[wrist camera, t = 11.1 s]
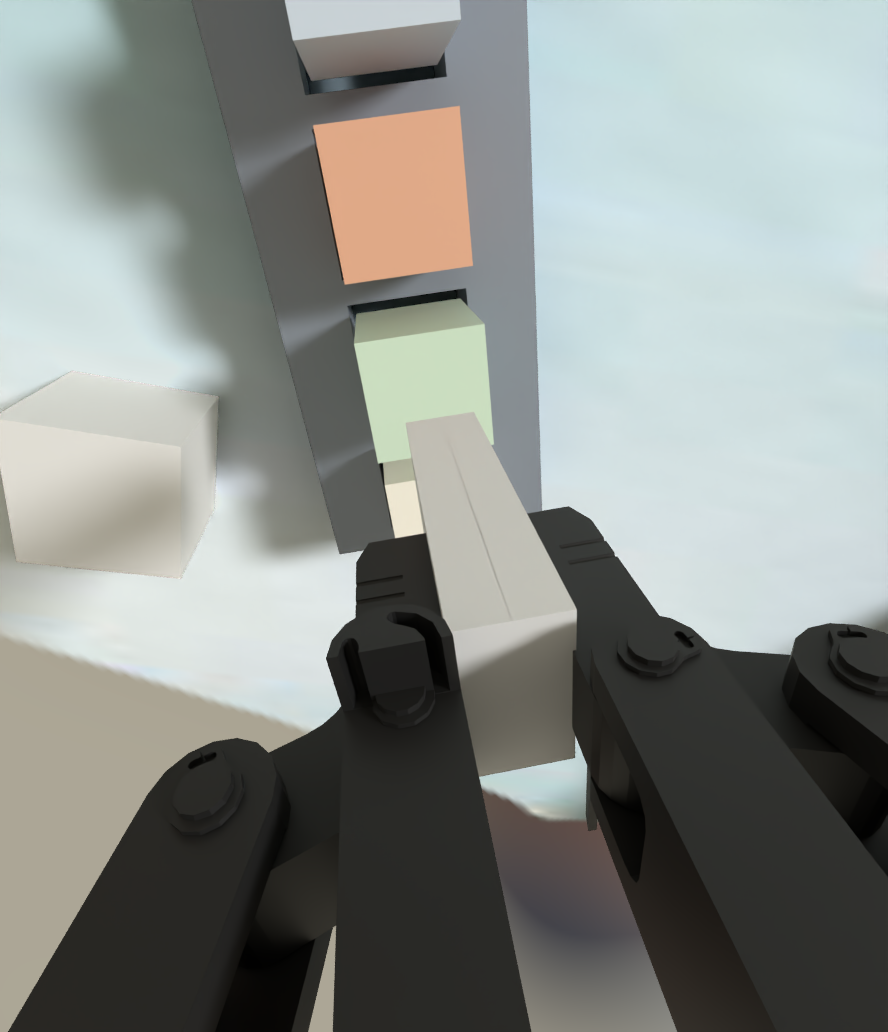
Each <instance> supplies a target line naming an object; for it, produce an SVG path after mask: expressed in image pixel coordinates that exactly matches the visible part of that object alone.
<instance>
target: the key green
mask: <svg viewBox="0 0 888 1032" xmlns="http://www.w3.org/2000/svg"><path fill="white" fill-rule="evenodd" d="M354 347H355V351H356V356H357V361H358V366H359V371H360V376H361V381H362V386H363V391H364V396H365V401H366V406H367V411H368V416H369V421H370V426H371V431H372V436H373V441H374V446H375V451H376V456H377V461H378V463H384V462H390V461H396V460H403V459H409V458H411V453H410V447H409V441H408V435H407V429H406V423H407V422H413V421H419V420H426V419H432V418H438V417H444V416H450V415H457V414H463V413H469V412H474V413H475V415H476V417H477V419H478V421H479V423H480V424H481V426H482V428H483V430H484V432H485V434H486V436H487V438H488V440H489V442H490V444H491V445H494V439H493V426H492V413H491V400H490V387H489V374H488V361H487V348H486V335H485V324H484V323H483V322H482V321H481V320H480V319H479V318H478V317H477V315H476V314H475V313H474V312H473V311H472V310H471V309H470V308H469V307H468V306H467V305H466V304H465V303H464V302H463V301H462V300H461V299H460V298H459V299H452V300H446V301H439V302H432V303H425V304H419V305H412V306H405V307H399V308H392V309H385V310H379V311H372V312H365V313H358V314H356V325H355V337H354Z"/></svg>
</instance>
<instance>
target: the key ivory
mask: <svg viewBox="0 0 888 1032" xmlns="http://www.w3.org/2000/svg"><path fill="white" fill-rule="evenodd" d="M383 467H384V482H385V489H386V494H387V499H388V504H389V510H390V515H391V520H392V525H393V530H394V535H395V538H400V537H405V536H411V535H417V534H423V533H424V531H423V525H422V519H421V513H420V507H419V501H418V495H417V489H416V483H415V477H414V471H413V465H412V459H411V458H409V459H403V460H396V461H390V462H384V463H383Z"/></svg>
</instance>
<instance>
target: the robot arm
mask: <svg viewBox="0 0 888 1032" xmlns="http://www.w3.org/2000/svg"><path fill="white" fill-rule="evenodd" d="M406 429H407V435H408V441H409V447H410V453H411V459H412V465H413V471H414V477H415V483H416V489H417V495H418V501H419V507H420V513H421V519H422V525H423V531H424V533H423V534H417V535H411V536H405V537H400V538H394V539H388V540H382V541H376V542H371V543H368V545H367V546H366V548H365V550H364V551H363V553H362V554H361V556H360V557H359V559H358V561H357V562H356V585H357V587H356V604H357V605H356V618H355V619H353V620H352V621H350V622H349V623H347V624H346V625H345V626H344V627H343V628H342V629H341V630H340V632H339V633H338V634H337V635H336V636H335V637H334V638H333V640H332V642H331V645H330V648H329V651H328V654H327V657H326V660H327V663H328V666H329V669H330V672H331V676H332V679H333V682H334V685H335V688H336V691H337V694H338V697H339V700H340V703H341V707H340V709H339V710H338V711H337V712H336V713H335V714H334V715H333V716H332V717H331V718H330V719H329V720H327V721H326V722H325V723H324V724H323V725H321V726H320V727H318V728H316V729H315V730H313V731H311V732H310V733H308V734H306V735H304V736H302V737H300V738H298V739H296V740H294V741H292V742H290V743H288V744H286V745H284V746H282V747H279V748H278V749H275V750H274V751H272V752H269V753H268V752H267V751H266V750H265V749H264V748H263V747H261V746H260V745H259V744H258V743H257V742H252V741H248V740H243V739H239V738H235V739H228V740H222V741H216V742H212V743H210V744H208V745H205V746H203V747H201V748H199V749H197V750H195V751H192V752H190V753H188V754H187V755H186V756H185V757H183V758H182V759H181V760H180V761H178V762H177V763H176V764H174V765H173V766H172V767H171V768H169V769H168V770H167V771H166V772H165V773H164V774H163V776H162V777H161V778H160V779H159V781H158V782H157V783H156V785H155V786H154V787H153V788H152V790H151V791H150V792H149V793H148V795H147V796H146V798H145V800H144V801H143V803H142V805H141V807H140V809H139V810H138V812H137V814H136V815H135V817H134V818H133V820H132V822H131V824H130V825H129V827H128V829H127V830H126V832H125V834H124V835H123V837H122V839H121V841H120V842H119V844H118V846H117V847H116V849H115V851H114V853H113V854H112V856H111V858H110V859H109V861H108V863H107V864H106V866H105V868H104V870H103V871H102V873H101V875H100V876H99V878H98V880H97V881H96V883H95V885H94V887H93V888H92V890H91V892H90V894H89V895H88V897H87V898H86V900H85V902H84V904H83V905H82V907H81V909H80V911H79V912H78V914H77V916H76V917H75V919H74V920H73V922H72V924H71V926H70V927H69V929H68V931H67V932H66V934H65V936H64V938H63V939H62V941H61V943H60V944H59V946H58V948H57V949H56V951H55V953H54V955H53V956H52V958H51V960H50V961H49V963H48V965H47V966H46V968H45V970H44V972H43V973H42V975H41V977H40V978H39V980H38V982H37V984H36V985H35V987H34V989H33V990H32V992H31V994H30V995H29V997H28V999H27V1001H26V1002H25V1004H24V1006H23V1007H22V1009H21V1011H20V1012H19V1014H18V1016H17V1017H16V1019H15V1021H14V1023H13V1024H12V1026H11V1028H10V1029H9V1031H8V1032H308V1030H309V1025H310V1021H311V1017H312V1013H313V1009H314V1004H315V1000H316V996H317V992H318V988H319V983H320V979H321V975H322V970H323V966H324V962H325V958H326V954H327V949H328V946H329V941H330V937H331V933H332V929H333V927H334V926H336V951H335V981H334V982H335V983H334V1012H333V1032H531V1028H530V1023H529V1018H528V1013H527V1008H526V1004H525V999H524V994H523V989H522V984H521V979H520V975H519V970H518V965H517V960H516V955H515V950H514V945H513V941H512V935H511V930H510V926H509V921H508V916H507V911H506V906H505V902H504V896H503V891H502V887H501V882H500V877H499V873H498V867H497V862H496V858H495V852H494V848H493V843H492V838H491V833H490V828H489V823H488V819H487V814H486V809H485V804H484V799H483V794H482V789H481V784H480V779H479V777H480V776H485V775H490V774H495V773H500V772H506V771H511V770H516V769H521V768H526V767H531V766H536V765H541V764H546V763H552V762H557V761H562V760H567V759H572V758H575V736H576V738H577V741H578V743H579V746H580V748H581V751H582V753H583V756H584V758H585V761H586V763H587V790H586V818H587V825H588V830H589V831H591V830H596V828H597V819H598V822H599V825H600V827H601V830H602V832H603V835H604V838H605V840H606V843H607V846H608V848H609V851H610V854H611V856H612V859H613V862H614V864H615V867H616V870H617V872H618V875H619V878H620V880H621V883H622V886H623V888H624V891H625V894H626V896H627V899H628V902H629V904H630V907H631V910H632V912H633V915H634V918H635V920H636V923H637V926H638V928H639V931H640V934H641V936H642V939H643V941H644V944H645V947H646V950H647V952H648V955H649V957H650V960H651V963H652V966H653V968H654V971H655V974H656V976H657V979H658V981H659V984H660V986H661V990H662V992H663V995H664V998H665V1000H666V1003H667V1006H668V1008H669V1011H670V1013H671V1016H672V1019H673V1022H674V1024H675V1027H676V1029H677V1032H888V634H886V633H884V632H880V631H877V630H873V629H869V628H865V627H862V626H858V625H849V624H832V623H829V624H824V625H820V626H815V627H811V628H808V629H807V630H805V631H804V632H803V633H802V634H800V635H799V636H798V637H797V638H796V639H795V642H794V645H793V649H792V652H791V655H783V654H768V653H754V652H739V651H730V650H724V649H717V648H713V647H710V645H709V644H708V643H707V642H706V641H705V640H704V639H703V638H702V637H701V636H699V635H698V634H697V633H696V632H695V631H694V630H693V629H692V628H690V627H688V626H686V625H684V624H682V623H680V622H677V621H675V620H673V619H671V618H667V617H662V616H659V615H658V613H657V612H656V611H655V609H654V608H653V606H652V605H651V604H650V602H649V601H648V599H647V598H646V597H645V595H644V594H643V592H642V591H641V589H640V588H639V587H638V585H637V584H636V582H635V581H634V580H633V578H632V577H631V575H630V574H629V573H628V571H627V570H626V568H625V567H624V565H623V564H622V563H621V561H620V560H619V558H618V557H615V555H614V551H613V550H612V549H611V547H610V546H609V544H608V543H607V542H606V541H604V537H603V536H602V534H601V533H600V532H599V530H598V529H597V527H596V526H595V525H594V523H593V522H592V520H591V519H589V518H587V517H586V516H584V515H582V514H581V513H579V512H577V511H576V510H574V509H572V508H570V507H569V506H568V507H562V508H557V509H551V510H545V511H539V512H533V513H526V511H525V509H524V507H523V505H522V503H521V501H520V499H519V497H518V496H517V494H516V492H515V490H514V488H513V486H512V484H511V482H510V480H509V478H508V476H507V474H506V472H505V471H504V469H503V467H502V465H501V463H500V461H499V459H498V457H497V455H496V453H495V451H494V449H493V448H492V446H491V444H490V442H489V440H488V438H487V436H486V434H485V432H484V430H483V428H482V426H481V424H480V423H479V421H478V419H477V417H476V415H475V413H474V412H469V413H463V414H457V415H450V416H444V417H438V418H432V419H426V420H419V421H413V422H407V423H406Z"/></svg>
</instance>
